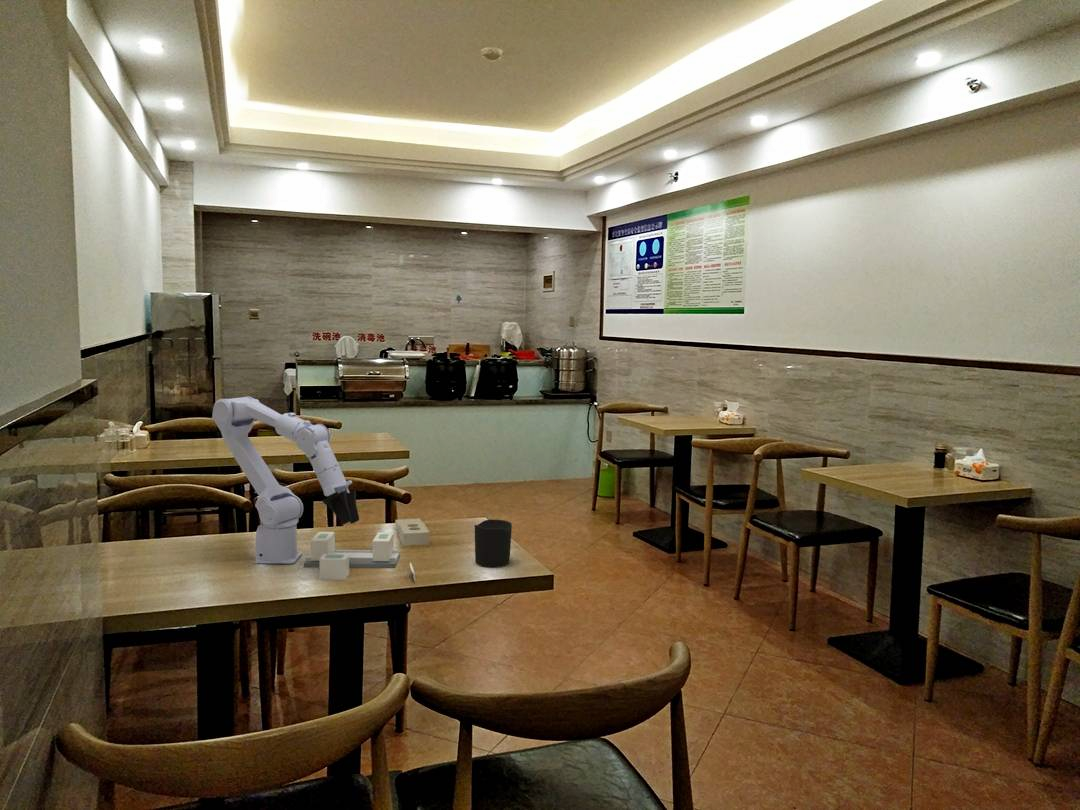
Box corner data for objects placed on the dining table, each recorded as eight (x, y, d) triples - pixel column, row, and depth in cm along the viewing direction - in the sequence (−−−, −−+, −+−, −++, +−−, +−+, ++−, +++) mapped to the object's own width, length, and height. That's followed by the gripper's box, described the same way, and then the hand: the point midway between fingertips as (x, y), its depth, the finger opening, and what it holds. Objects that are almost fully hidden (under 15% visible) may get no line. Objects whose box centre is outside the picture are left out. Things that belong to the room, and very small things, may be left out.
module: (319, 580, 174) (319, 558, 173) (323, 574, 178) (323, 553, 177) (345, 580, 174) (345, 558, 174) (349, 574, 178) (349, 553, 178)
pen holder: (516, 566, 187) (517, 527, 186) (480, 570, 184) (481, 530, 183) (503, 555, 196) (504, 518, 195) (469, 559, 192) (469, 521, 191)
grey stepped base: (303, 567, 182) (303, 540, 182) (314, 554, 192) (313, 529, 192) (394, 567, 184) (394, 541, 183) (400, 555, 193) (400, 530, 193)
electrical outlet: (419, 515, 221) (429, 531, 204) (419, 528, 221) (429, 545, 204) (395, 516, 219) (403, 532, 202) (395, 530, 219) (403, 547, 202)
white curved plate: (399, 585, 172) (399, 572, 172) (397, 574, 180) (397, 562, 180) (415, 584, 173) (415, 571, 173) (412, 573, 181) (412, 561, 181)
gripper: (335, 462, 173) (359, 515, 171) (350, 465, 187) (373, 514, 186) (307, 475, 172) (331, 529, 171) (325, 477, 187) (347, 527, 185)
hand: (351, 522), depth 178 cm, fingers open, 7 cm apart
